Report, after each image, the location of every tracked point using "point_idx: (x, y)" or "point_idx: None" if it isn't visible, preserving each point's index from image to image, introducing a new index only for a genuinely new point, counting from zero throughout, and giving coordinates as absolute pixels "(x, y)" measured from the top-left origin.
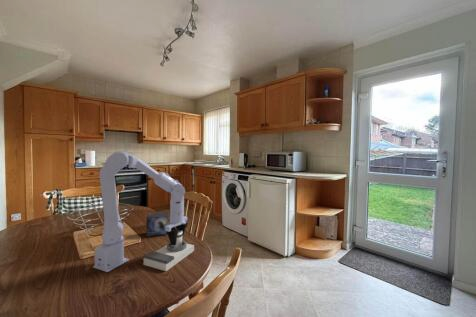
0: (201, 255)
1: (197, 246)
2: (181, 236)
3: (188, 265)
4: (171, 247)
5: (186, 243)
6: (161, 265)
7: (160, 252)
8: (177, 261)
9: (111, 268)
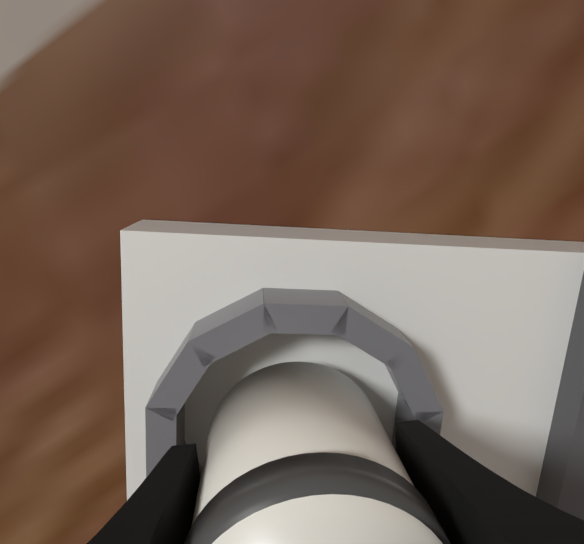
0: (217, 48)
1: (6, 244)
2: (323, 452)
3: (495, 81)
4: None
5: (211, 328)
6: None
7: None
8: (489, 239)
9: None
